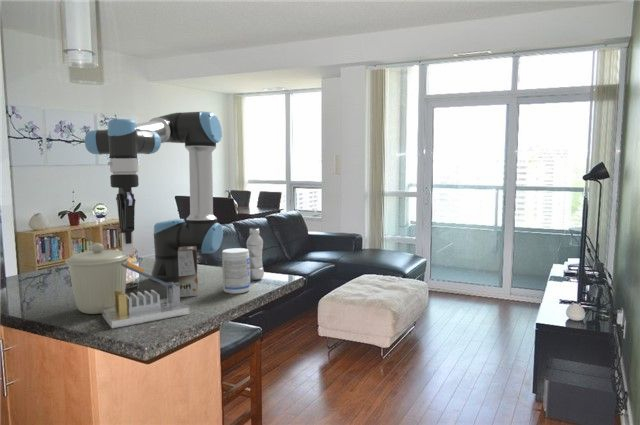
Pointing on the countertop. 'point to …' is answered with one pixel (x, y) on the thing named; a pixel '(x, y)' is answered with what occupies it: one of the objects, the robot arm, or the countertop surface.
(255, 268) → the plastic bottle
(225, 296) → the countertop surface
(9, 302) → the countertop surface
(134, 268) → the strap
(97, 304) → the canister
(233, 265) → the supplement tub
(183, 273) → the coffee box
